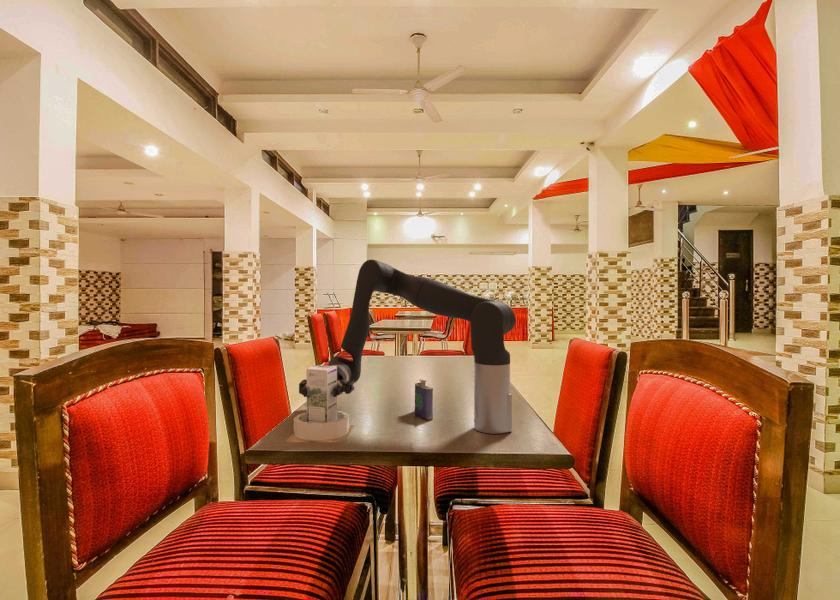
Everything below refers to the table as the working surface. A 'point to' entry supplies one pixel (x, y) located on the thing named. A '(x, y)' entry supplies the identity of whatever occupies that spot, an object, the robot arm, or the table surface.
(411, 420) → the table surface
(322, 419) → the syrup box
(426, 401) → the flask
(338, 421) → the bowl
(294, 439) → the placemat
